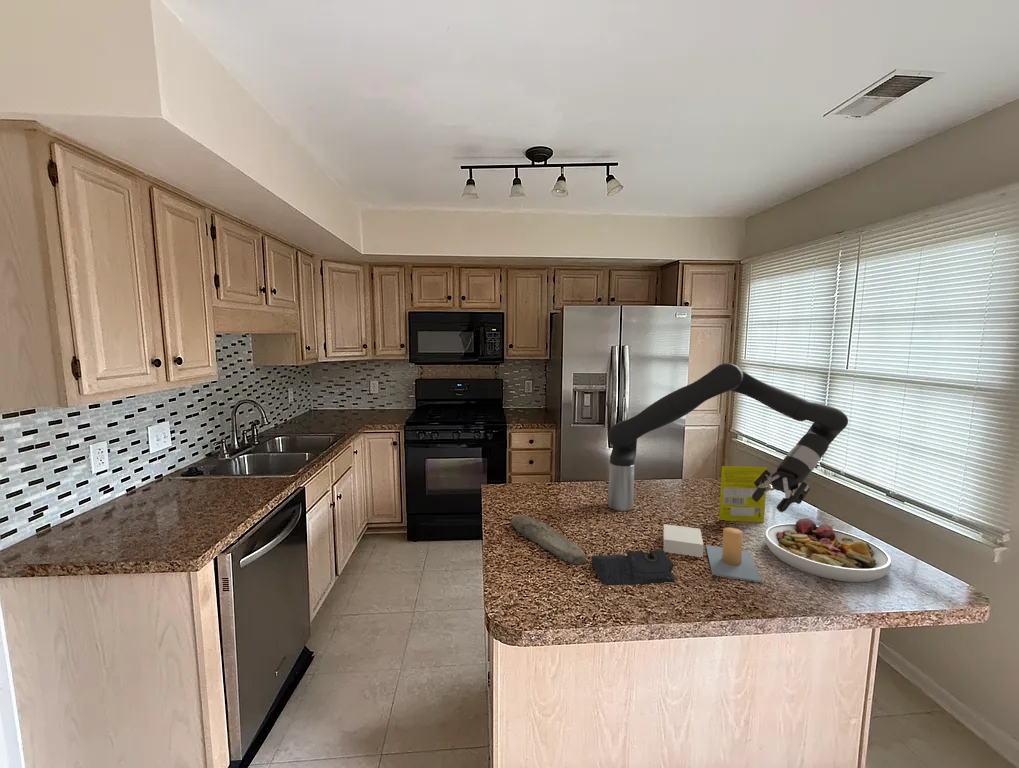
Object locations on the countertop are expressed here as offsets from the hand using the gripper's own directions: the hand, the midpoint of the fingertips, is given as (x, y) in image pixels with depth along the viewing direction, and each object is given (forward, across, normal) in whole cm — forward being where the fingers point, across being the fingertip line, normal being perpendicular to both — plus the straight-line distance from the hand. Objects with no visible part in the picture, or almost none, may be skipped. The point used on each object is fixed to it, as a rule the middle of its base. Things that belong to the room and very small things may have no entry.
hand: (766, 505), depth 129 cm
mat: (+20, 0, +3) cm, 20 cm away
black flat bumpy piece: (+41, -5, -17) cm, 45 cm away
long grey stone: (+53, -29, -29) cm, 67 cm away
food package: (+1, -24, +22) cm, 33 cm away
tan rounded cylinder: (+19, 0, +3) cm, 19 cm away
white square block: (+24, -13, -1) cm, 28 cm away
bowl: (0, +6, +24) cm, 24 cm away
